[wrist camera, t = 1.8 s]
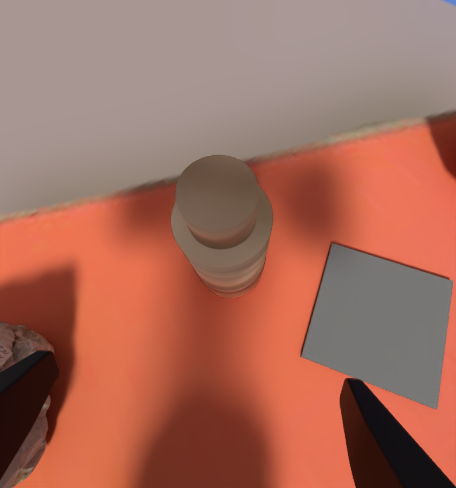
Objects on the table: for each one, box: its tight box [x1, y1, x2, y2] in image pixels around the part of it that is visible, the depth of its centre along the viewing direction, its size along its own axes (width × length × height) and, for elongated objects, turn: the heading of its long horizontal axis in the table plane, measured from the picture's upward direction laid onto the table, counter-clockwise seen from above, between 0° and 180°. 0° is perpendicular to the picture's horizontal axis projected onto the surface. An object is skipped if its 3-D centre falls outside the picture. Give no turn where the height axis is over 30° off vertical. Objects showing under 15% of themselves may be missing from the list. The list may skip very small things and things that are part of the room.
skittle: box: [171, 155, 273, 298], centre depth 17 cm, size 5×5×12 cm
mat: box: [301, 243, 453, 409], centre depth 21 cm, size 9×9×1 cm
